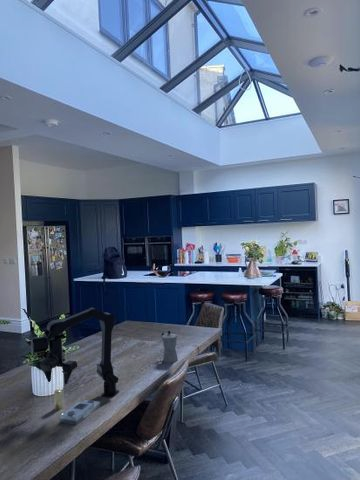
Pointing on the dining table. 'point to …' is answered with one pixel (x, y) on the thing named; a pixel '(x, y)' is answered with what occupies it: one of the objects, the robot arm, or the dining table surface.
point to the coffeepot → (169, 347)
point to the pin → (58, 399)
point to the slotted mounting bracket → (79, 411)
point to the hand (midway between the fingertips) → (57, 383)
